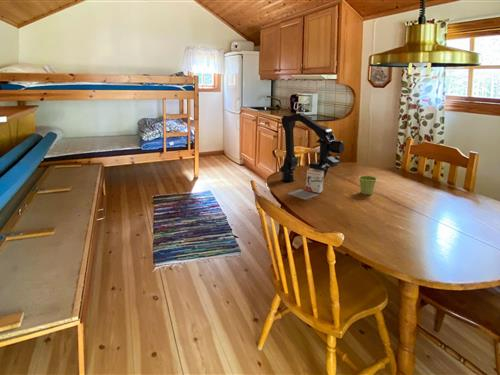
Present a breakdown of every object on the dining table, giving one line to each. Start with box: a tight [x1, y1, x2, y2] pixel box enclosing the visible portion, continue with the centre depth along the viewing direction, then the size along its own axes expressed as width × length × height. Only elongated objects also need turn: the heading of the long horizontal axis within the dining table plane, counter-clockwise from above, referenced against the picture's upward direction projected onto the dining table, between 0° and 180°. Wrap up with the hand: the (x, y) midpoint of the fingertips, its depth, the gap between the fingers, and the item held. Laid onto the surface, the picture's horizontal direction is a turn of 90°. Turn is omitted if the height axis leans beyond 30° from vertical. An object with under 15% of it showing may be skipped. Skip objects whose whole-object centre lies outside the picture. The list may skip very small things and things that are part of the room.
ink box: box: [305, 168, 324, 194], centre depth 202 cm, size 9×5×12 cm, turn 62°
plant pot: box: [358, 175, 378, 195], centre depth 199 cm, size 9×9×9 cm
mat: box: [287, 188, 319, 201], centre depth 199 cm, size 13×11×1 cm
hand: (323, 178), depth 207 cm, fingers closed
